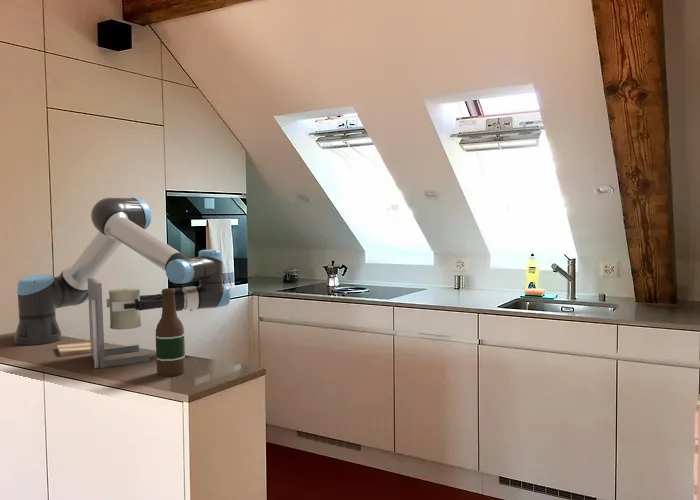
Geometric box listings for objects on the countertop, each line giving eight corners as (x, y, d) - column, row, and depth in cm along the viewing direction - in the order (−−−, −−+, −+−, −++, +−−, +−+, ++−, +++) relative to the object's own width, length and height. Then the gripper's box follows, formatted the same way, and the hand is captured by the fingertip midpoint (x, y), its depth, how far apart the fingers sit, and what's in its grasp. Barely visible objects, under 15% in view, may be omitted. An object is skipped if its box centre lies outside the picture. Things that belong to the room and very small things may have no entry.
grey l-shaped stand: (86, 356, 198) (82, 278, 197) (137, 349, 206) (134, 274, 204) (95, 369, 181) (91, 284, 179) (151, 361, 189) (148, 280, 187)
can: (111, 330, 188) (110, 291, 187) (108, 325, 196) (106, 288, 195) (143, 327, 192) (142, 289, 191) (138, 322, 200) (137, 286, 200)
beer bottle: (158, 378, 170) (155, 291, 168) (155, 371, 177) (152, 288, 175) (187, 374, 173) (184, 289, 171) (183, 368, 180) (180, 286, 179)
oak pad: (57, 348, 210) (57, 345, 210) (98, 343, 216) (98, 340, 216) (61, 356, 199) (60, 352, 198) (104, 350, 205) (104, 347, 205)
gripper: (192, 315, 194) (116, 322, 182) (174, 306, 212) (104, 312, 201) (191, 291, 193) (115, 297, 182) (173, 284, 212) (103, 289, 200)
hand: (109, 305), depth 191 cm, fingers closed on can, 9 cm apart
